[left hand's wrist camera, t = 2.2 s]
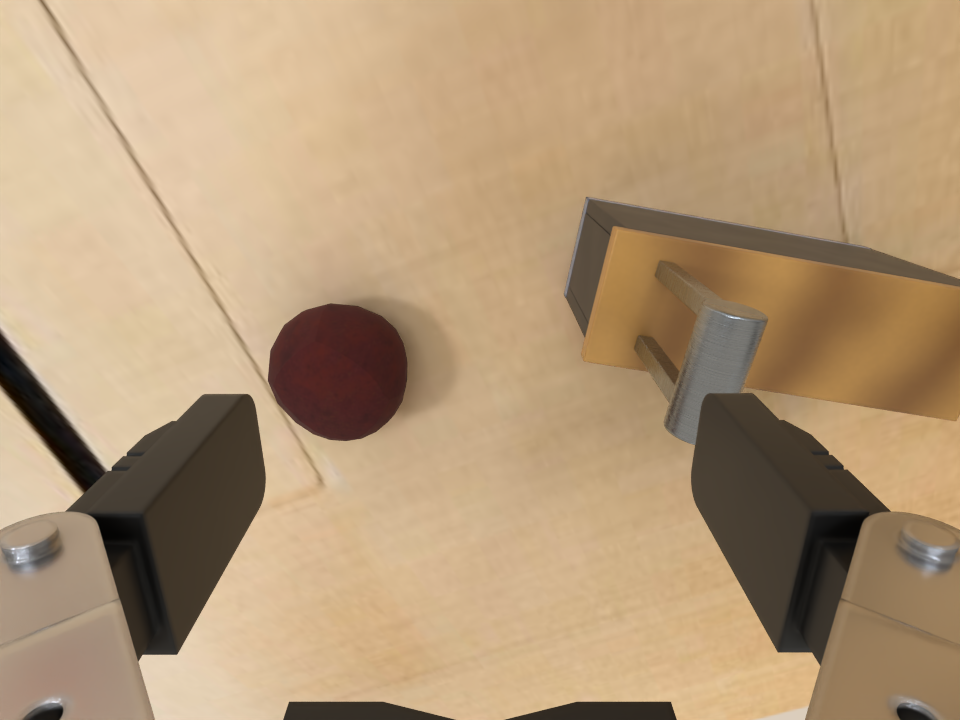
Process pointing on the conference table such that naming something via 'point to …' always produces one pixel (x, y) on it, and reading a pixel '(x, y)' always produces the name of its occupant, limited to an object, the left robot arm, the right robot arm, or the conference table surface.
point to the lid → (772, 328)
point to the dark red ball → (338, 371)
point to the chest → (608, 214)
